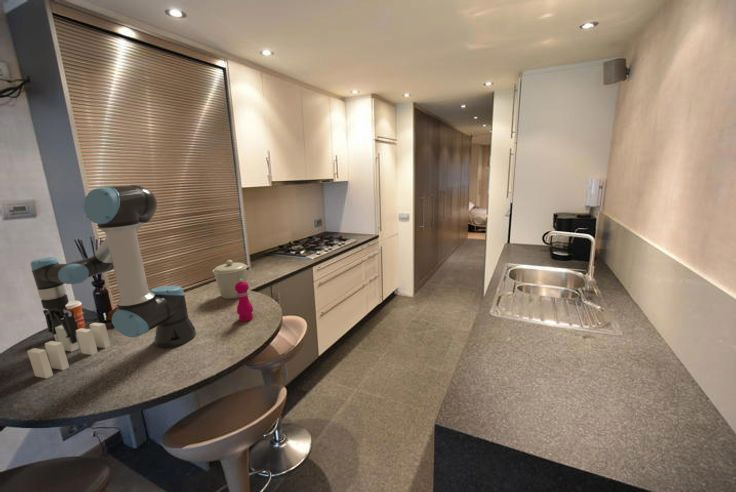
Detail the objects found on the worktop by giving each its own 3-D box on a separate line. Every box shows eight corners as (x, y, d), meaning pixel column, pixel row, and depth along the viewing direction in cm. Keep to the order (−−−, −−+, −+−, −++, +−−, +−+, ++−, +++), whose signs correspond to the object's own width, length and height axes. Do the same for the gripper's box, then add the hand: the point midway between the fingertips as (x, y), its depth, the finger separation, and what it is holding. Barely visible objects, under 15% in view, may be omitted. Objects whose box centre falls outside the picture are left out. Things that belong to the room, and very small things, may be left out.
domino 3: (69, 366, 120) (62, 342, 118) (63, 370, 118) (55, 345, 116) (58, 364, 122) (51, 340, 120) (51, 367, 120) (44, 343, 118)
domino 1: (53, 374, 115) (46, 349, 113) (46, 378, 113) (38, 353, 111) (42, 372, 117) (34, 347, 115) (35, 376, 115) (27, 351, 113)
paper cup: (75, 336, 143) (67, 307, 140) (61, 335, 145) (53, 306, 142) (93, 328, 151) (85, 300, 147) (80, 327, 152) (72, 299, 149)
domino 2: (77, 348, 133) (71, 326, 131) (71, 351, 131) (64, 329, 129) (67, 347, 135) (60, 325, 132) (61, 349, 133) (54, 327, 130)
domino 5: (110, 345, 134) (105, 323, 132) (105, 348, 132) (99, 326, 130) (100, 344, 136) (94, 322, 133) (95, 346, 134) (89, 324, 131)
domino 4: (98, 352, 129) (92, 329, 127) (92, 355, 127) (86, 332, 125) (87, 350, 131) (81, 327, 129) (81, 353, 129) (75, 330, 127)
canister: (243, 301, 175) (238, 264, 170) (210, 302, 175) (204, 265, 170) (255, 289, 192) (251, 255, 187) (225, 290, 193) (220, 256, 188)
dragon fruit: (127, 328, 153) (114, 326, 159) (139, 312, 158) (127, 311, 164) (110, 319, 147) (98, 318, 153) (124, 303, 152) (111, 302, 158)
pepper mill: (234, 320, 152) (228, 280, 147) (245, 314, 158) (240, 275, 154) (246, 322, 149) (241, 282, 145) (257, 316, 156) (252, 277, 151)
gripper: (81, 294, 128) (95, 346, 133) (48, 291, 133) (62, 341, 139) (59, 302, 121) (75, 356, 126) (25, 298, 127) (41, 350, 132)
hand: (68, 348), depth 133 cm, fingers open, 7 cm apart
